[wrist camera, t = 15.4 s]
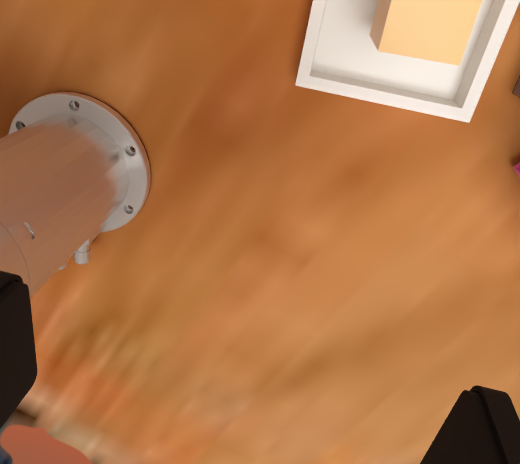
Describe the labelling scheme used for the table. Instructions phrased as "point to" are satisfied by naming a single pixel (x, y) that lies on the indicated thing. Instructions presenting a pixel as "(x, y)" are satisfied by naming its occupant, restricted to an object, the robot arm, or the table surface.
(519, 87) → the gray square socket plate
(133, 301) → the table surface
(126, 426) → the table surface
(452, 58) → the block
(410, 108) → the parts tray
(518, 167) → the gum box
